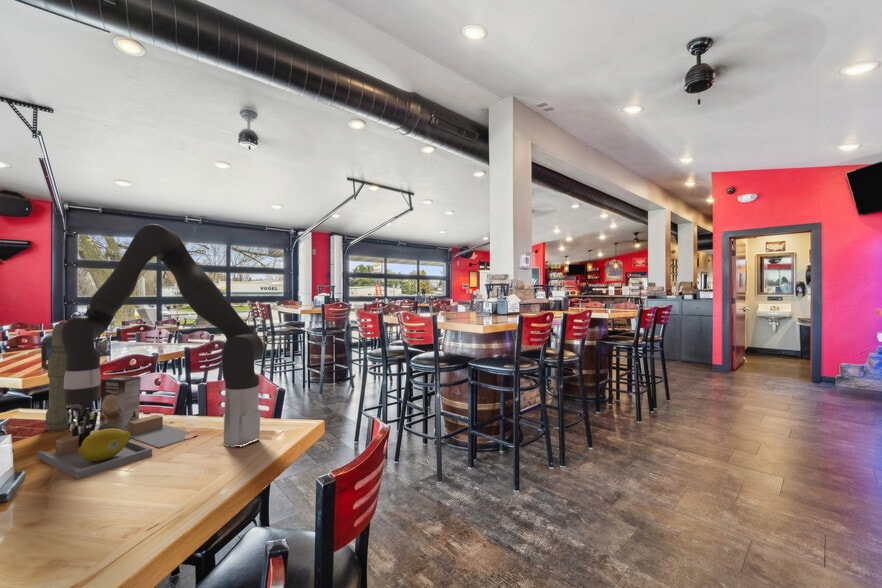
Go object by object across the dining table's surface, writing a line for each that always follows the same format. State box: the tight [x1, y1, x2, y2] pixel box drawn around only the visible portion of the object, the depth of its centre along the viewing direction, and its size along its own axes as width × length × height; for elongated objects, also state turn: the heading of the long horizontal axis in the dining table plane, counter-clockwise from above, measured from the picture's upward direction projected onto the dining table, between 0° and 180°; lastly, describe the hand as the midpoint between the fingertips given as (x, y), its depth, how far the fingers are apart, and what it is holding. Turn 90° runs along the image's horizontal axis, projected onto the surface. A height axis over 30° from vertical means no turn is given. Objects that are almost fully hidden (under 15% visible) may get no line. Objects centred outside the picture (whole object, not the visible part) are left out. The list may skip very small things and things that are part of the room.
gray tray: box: [37, 429, 153, 480], centre depth 99 cm, size 24×16×4 cm, turn 64°
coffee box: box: [99, 375, 141, 429], centre depth 124 cm, size 9×6×16 cm
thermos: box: [41, 321, 71, 432], centre depth 121 cm, size 9×12×35 cm
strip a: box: [127, 414, 191, 449], centre depth 115 cm, size 22×11×4 cm, turn 64°
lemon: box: [77, 428, 131, 462], centre depth 97 cm, size 11×8×8 cm
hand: (80, 444), depth 104 cm, fingers closed on gray tray, 4 cm apart
